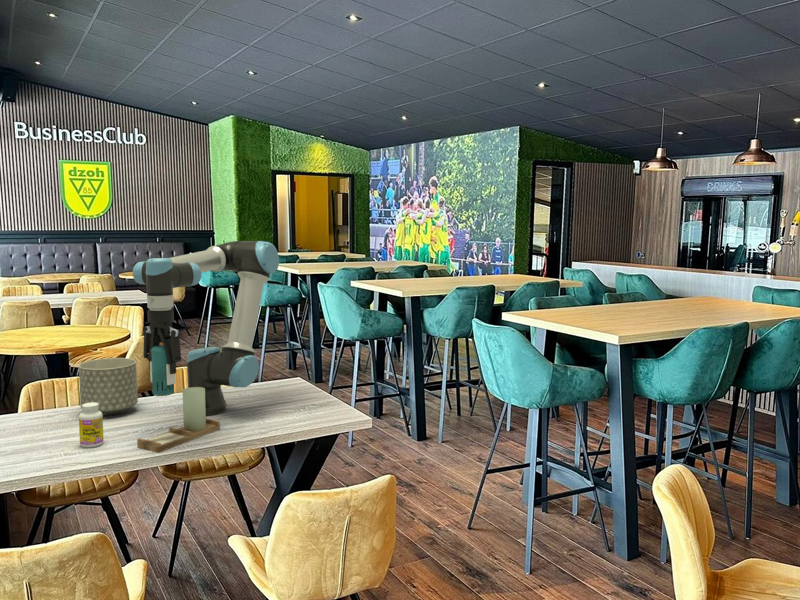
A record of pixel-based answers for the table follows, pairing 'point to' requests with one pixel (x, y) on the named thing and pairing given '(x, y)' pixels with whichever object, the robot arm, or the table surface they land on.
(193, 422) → the sage canister
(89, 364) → the planter
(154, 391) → the beverage bottle
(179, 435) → the wooden tray
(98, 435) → the supplement bottle
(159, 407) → the table surface
